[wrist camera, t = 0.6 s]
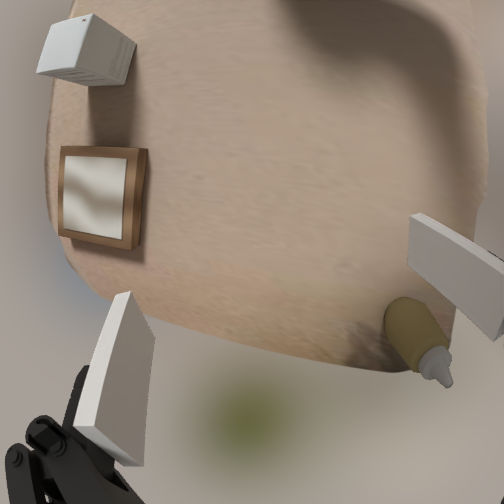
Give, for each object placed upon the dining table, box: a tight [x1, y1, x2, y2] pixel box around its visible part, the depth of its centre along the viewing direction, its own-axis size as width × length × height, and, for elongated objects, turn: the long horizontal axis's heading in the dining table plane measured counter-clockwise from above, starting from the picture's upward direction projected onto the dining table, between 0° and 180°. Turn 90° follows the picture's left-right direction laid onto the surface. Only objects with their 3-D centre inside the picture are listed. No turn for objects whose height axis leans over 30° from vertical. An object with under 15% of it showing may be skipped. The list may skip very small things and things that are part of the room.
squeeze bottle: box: [384, 297, 453, 388], centre depth 33 cm, size 8×8×18 cm
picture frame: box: [58, 146, 148, 251], centre depth 36 cm, size 14×14×3 cm
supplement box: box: [36, 14, 136, 86], centre depth 25 cm, size 7×7×13 cm
